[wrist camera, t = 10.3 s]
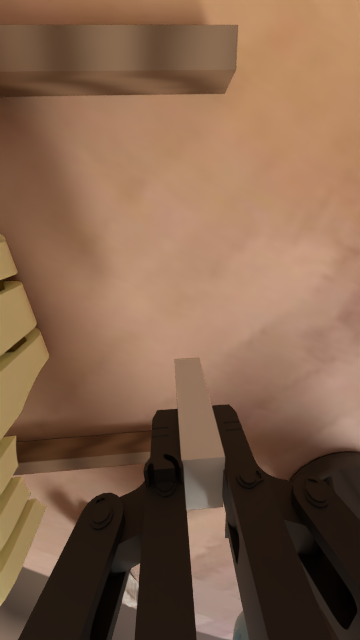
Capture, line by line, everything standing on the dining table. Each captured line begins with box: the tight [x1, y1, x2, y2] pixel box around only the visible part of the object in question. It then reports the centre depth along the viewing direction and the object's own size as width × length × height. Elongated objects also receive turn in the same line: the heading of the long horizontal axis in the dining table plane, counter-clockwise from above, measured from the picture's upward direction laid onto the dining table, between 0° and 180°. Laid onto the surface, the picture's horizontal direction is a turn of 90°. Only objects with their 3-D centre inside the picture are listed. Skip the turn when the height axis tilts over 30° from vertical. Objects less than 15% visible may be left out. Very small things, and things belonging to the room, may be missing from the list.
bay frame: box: [0, 25, 238, 475], centre depth 21 cm, size 36×38×5 cm
